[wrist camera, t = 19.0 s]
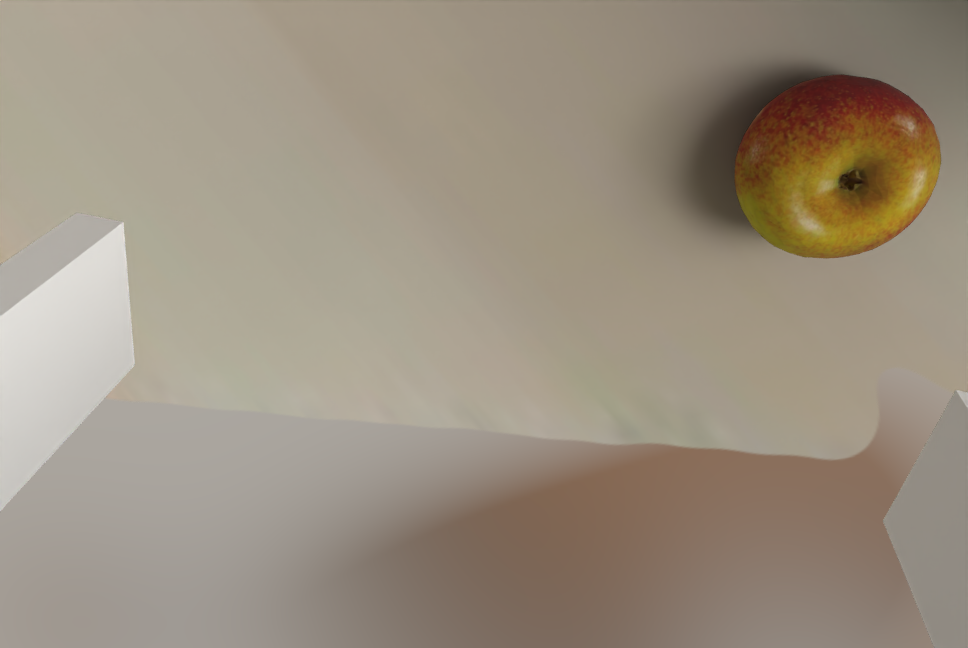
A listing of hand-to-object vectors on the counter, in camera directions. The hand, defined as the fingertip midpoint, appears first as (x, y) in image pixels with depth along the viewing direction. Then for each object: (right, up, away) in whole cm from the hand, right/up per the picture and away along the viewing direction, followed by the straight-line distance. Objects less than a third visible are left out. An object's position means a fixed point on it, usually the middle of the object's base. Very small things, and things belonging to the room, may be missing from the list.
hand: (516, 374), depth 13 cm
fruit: (+18, +11, +32) cm, 38 cm away
